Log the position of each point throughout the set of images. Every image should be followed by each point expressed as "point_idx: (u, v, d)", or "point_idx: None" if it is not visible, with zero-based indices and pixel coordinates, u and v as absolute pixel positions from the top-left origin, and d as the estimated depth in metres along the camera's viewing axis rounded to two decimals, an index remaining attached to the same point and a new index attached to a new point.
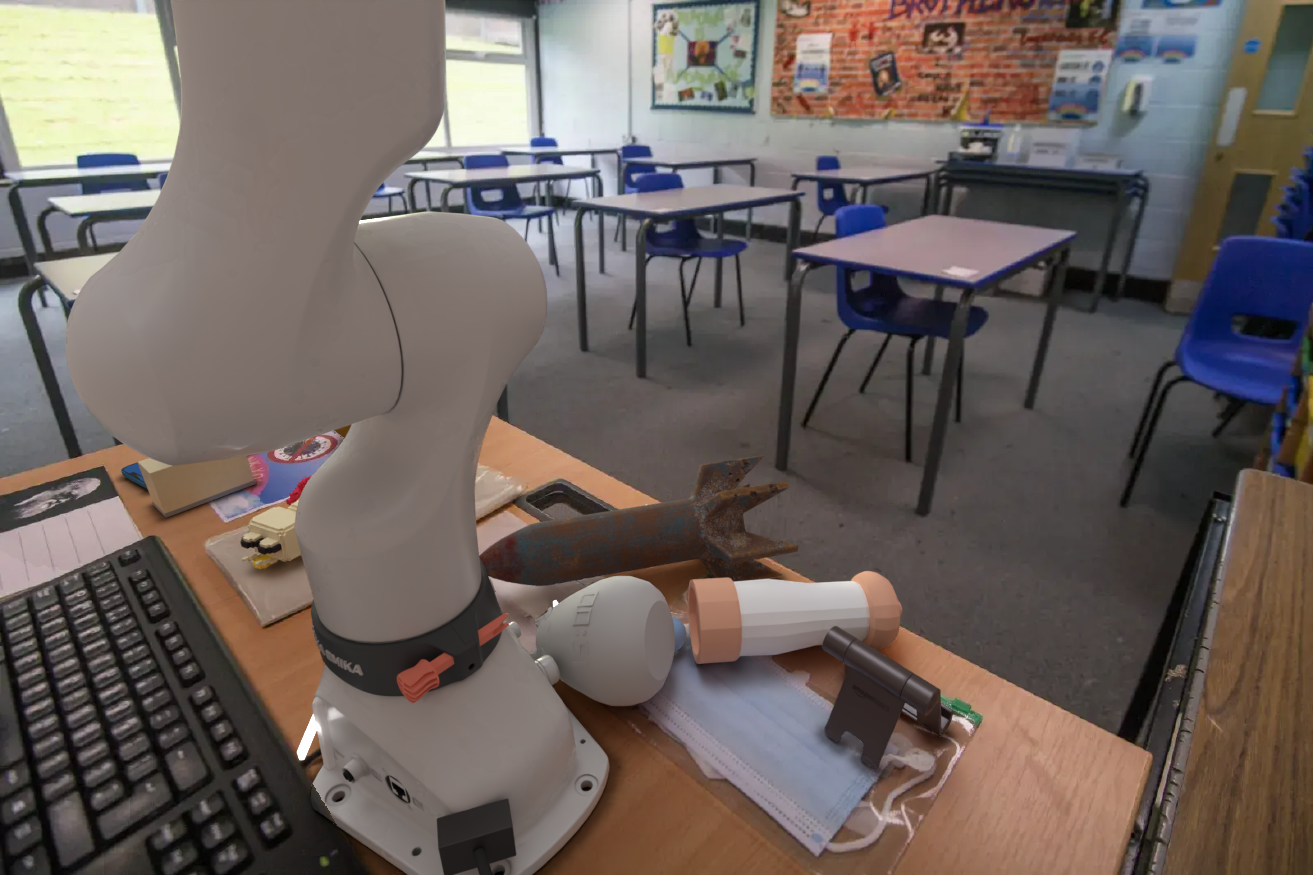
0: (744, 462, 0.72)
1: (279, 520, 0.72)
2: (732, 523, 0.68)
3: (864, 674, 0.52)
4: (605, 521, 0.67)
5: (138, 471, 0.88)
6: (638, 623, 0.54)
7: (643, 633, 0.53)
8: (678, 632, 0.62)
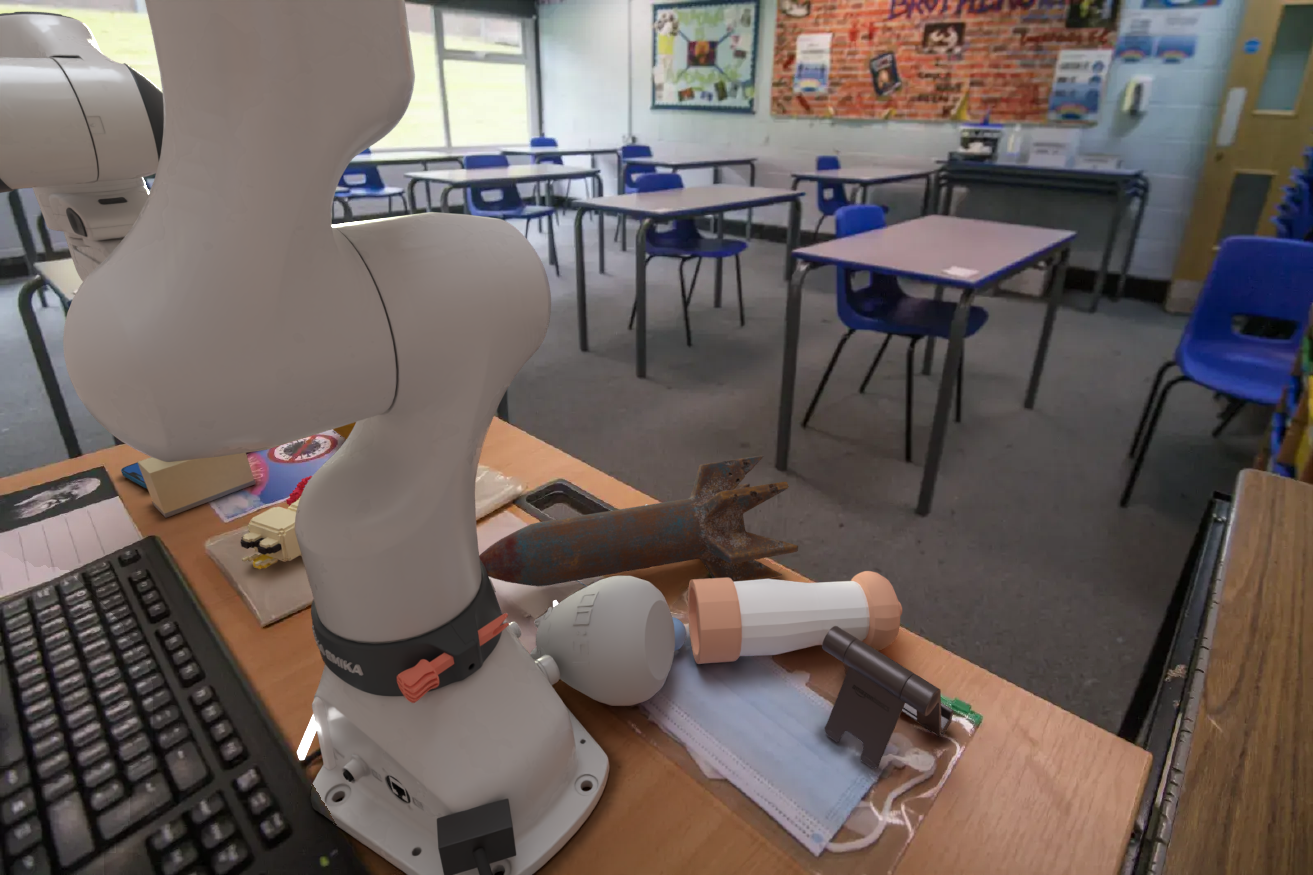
0: (744, 462, 0.72)
1: (279, 520, 0.72)
2: (732, 523, 0.68)
3: (864, 674, 0.52)
4: (605, 521, 0.67)
5: (138, 471, 0.88)
6: (638, 623, 0.54)
7: (643, 633, 0.54)
8: (678, 632, 0.62)
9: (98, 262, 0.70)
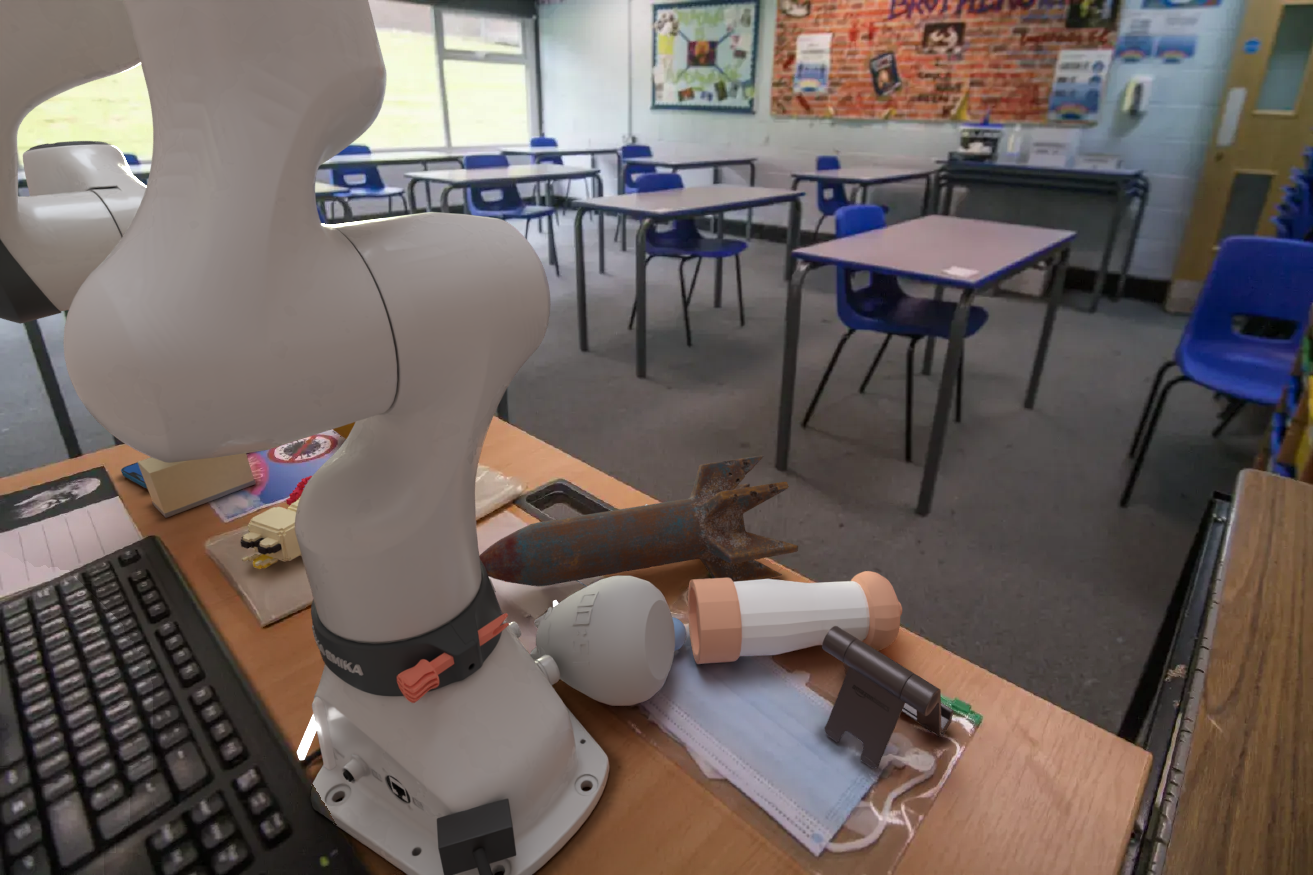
0: (744, 462, 0.72)
1: (279, 520, 0.72)
2: (732, 523, 0.68)
3: (864, 674, 0.52)
4: (605, 521, 0.67)
5: (138, 471, 0.88)
6: (639, 623, 0.54)
7: (643, 633, 0.54)
8: (678, 632, 0.62)
9: None
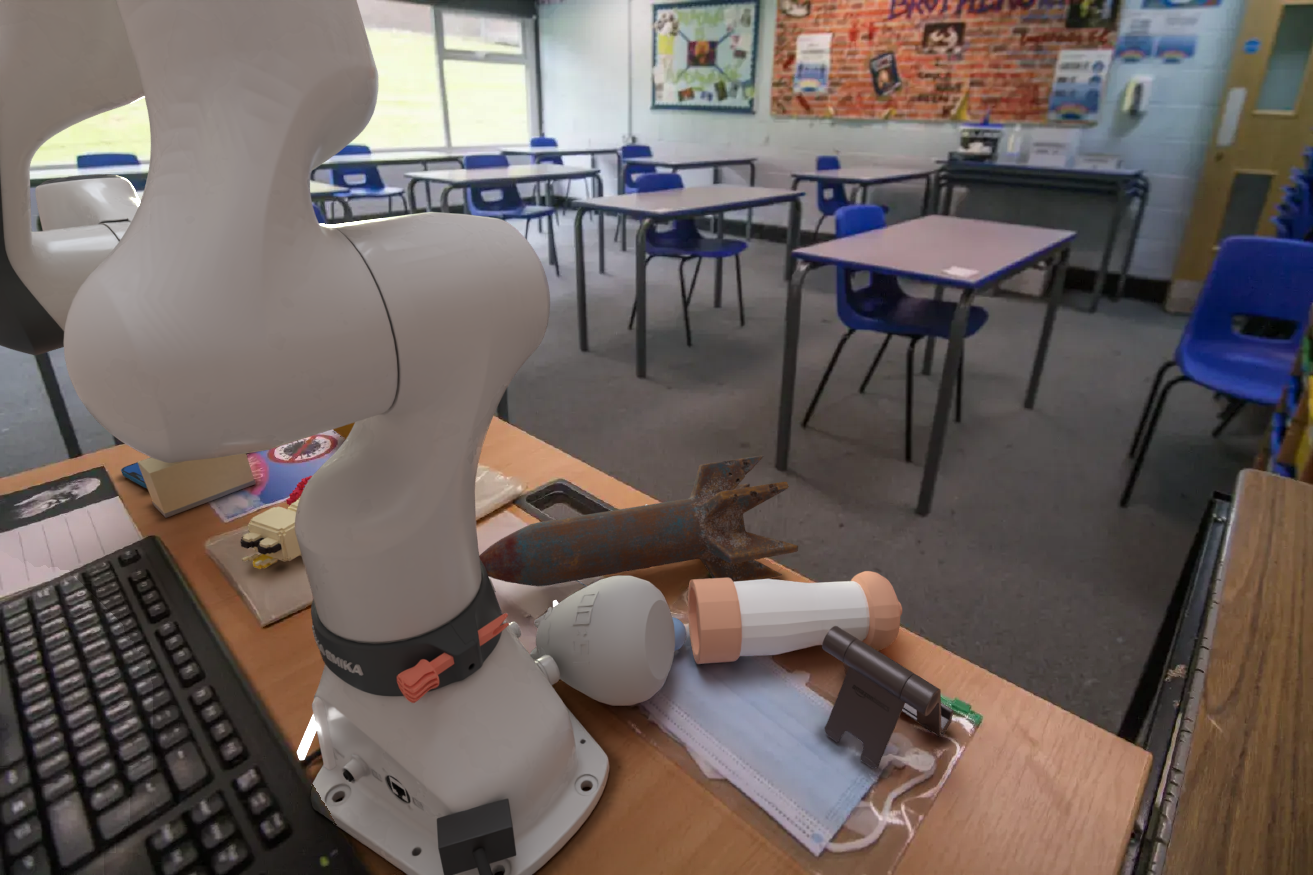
0: (744, 462, 0.72)
1: (279, 520, 0.72)
2: (732, 523, 0.68)
3: (864, 674, 0.52)
4: (605, 521, 0.67)
5: (138, 471, 0.88)
6: (639, 623, 0.54)
7: (643, 633, 0.54)
8: (678, 632, 0.62)
9: None
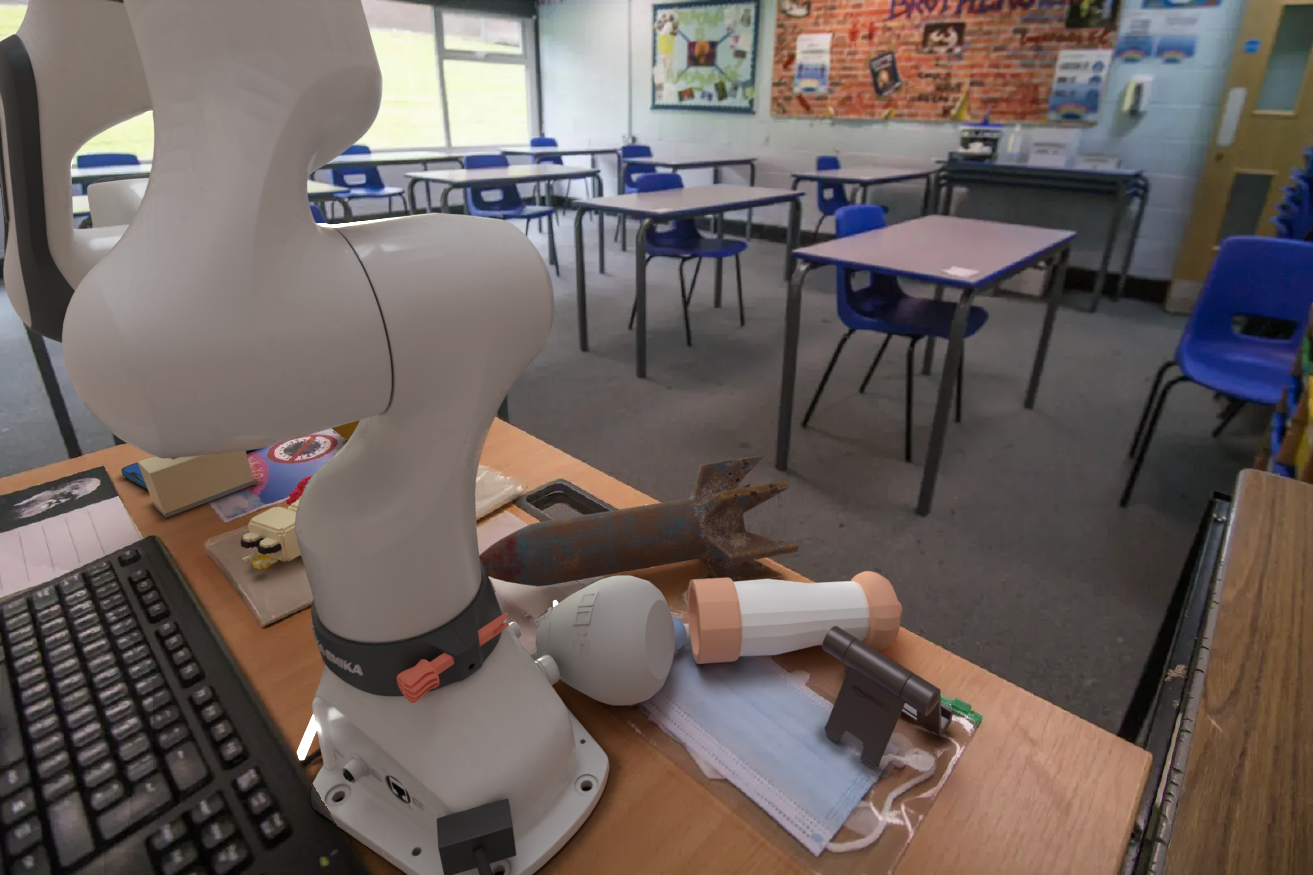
0: (744, 462, 0.72)
1: (279, 520, 0.72)
2: (732, 523, 0.68)
3: (864, 674, 0.52)
4: (605, 521, 0.67)
5: (138, 471, 0.88)
6: (639, 623, 0.54)
7: (644, 632, 0.54)
8: (678, 632, 0.62)
9: None
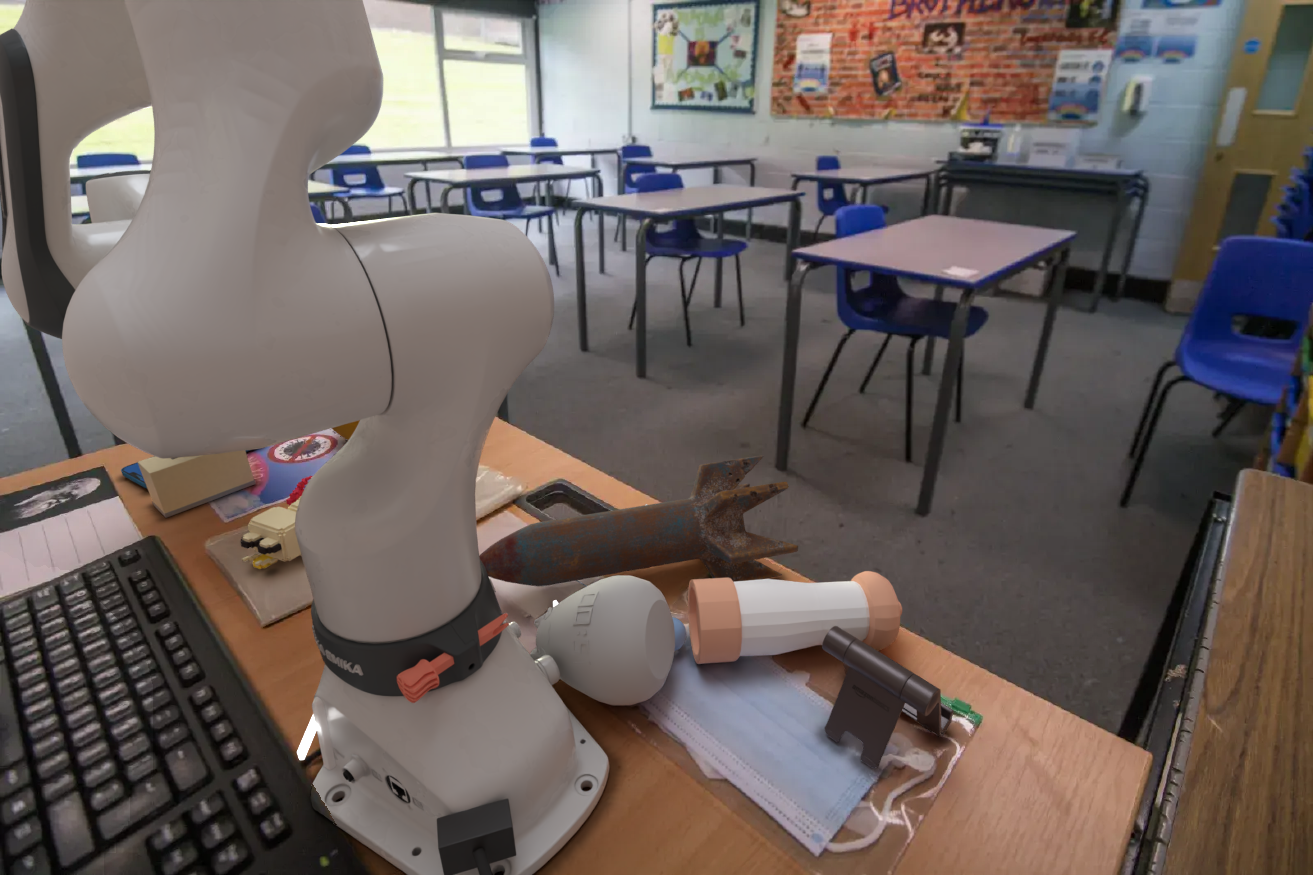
0: (744, 462, 0.72)
1: (279, 520, 0.72)
2: (732, 523, 0.68)
3: (864, 674, 0.52)
4: (605, 521, 0.67)
5: (138, 471, 0.88)
6: (639, 623, 0.54)
7: (644, 632, 0.54)
8: (678, 632, 0.62)
9: None
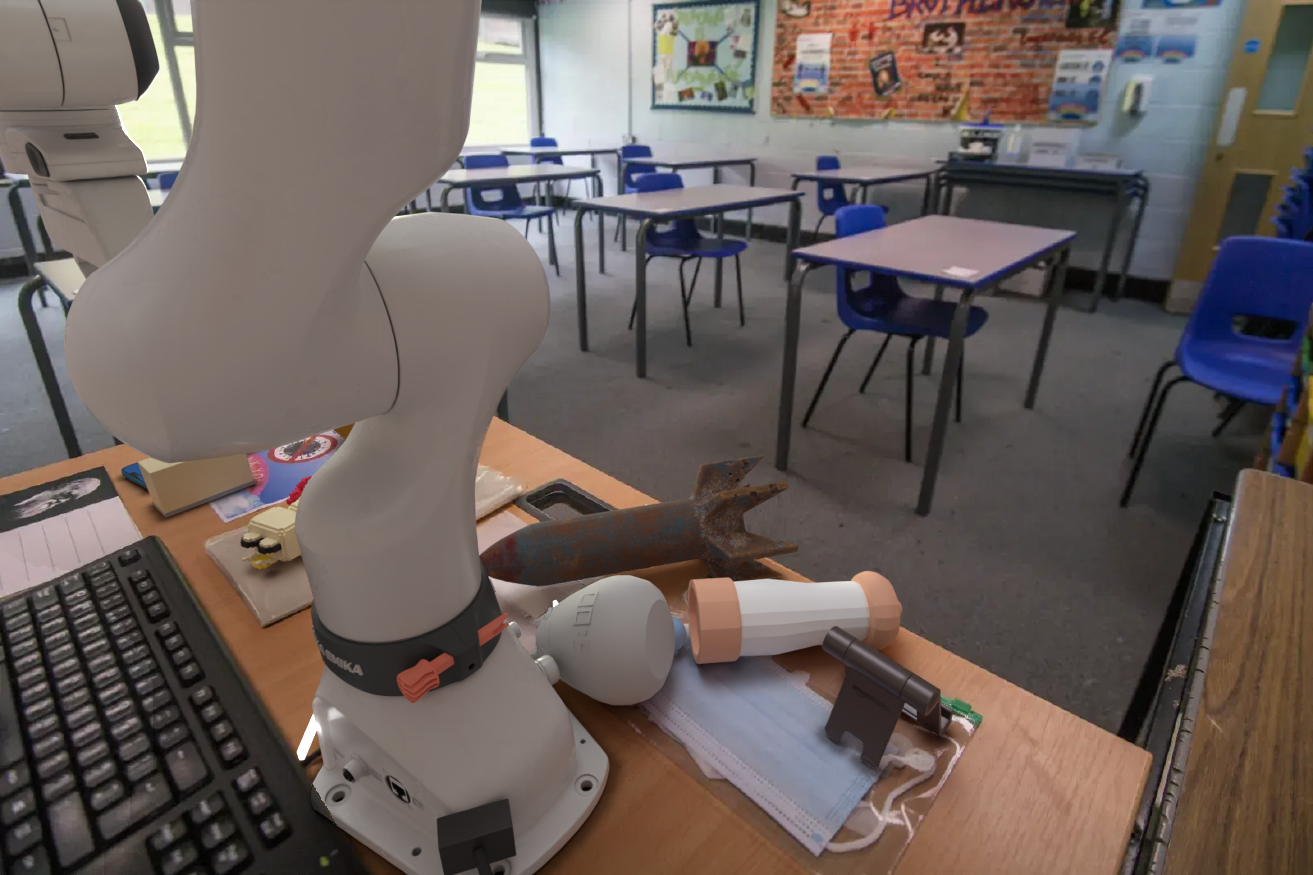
0: (744, 462, 0.72)
1: (279, 520, 0.72)
2: (732, 523, 0.68)
3: (864, 674, 0.52)
4: (605, 521, 0.67)
5: (138, 471, 0.88)
6: (639, 622, 0.54)
7: (644, 632, 0.54)
8: (678, 632, 0.62)
9: (68, 215, 0.60)
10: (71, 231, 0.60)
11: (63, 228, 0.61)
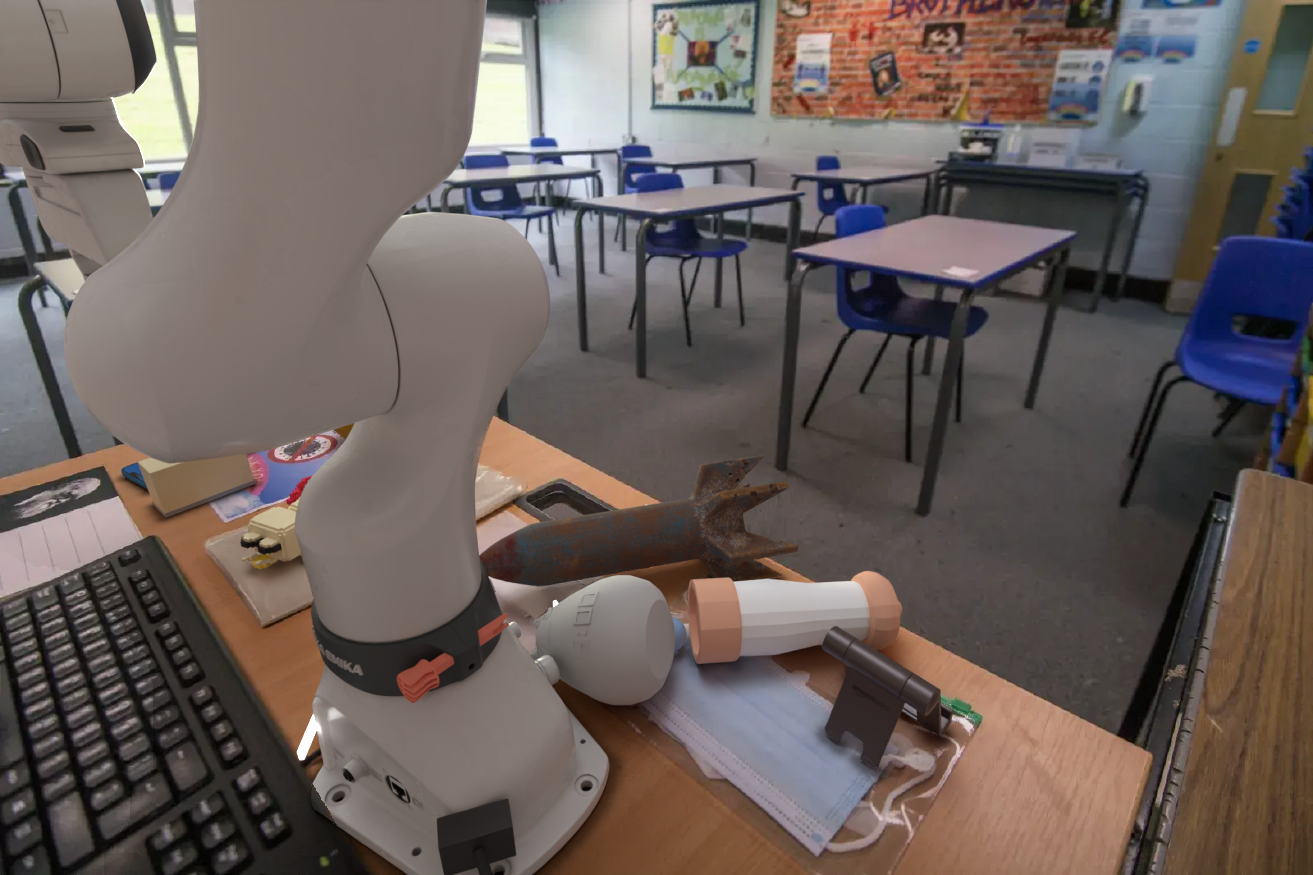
0: (744, 462, 0.72)
1: (279, 520, 0.72)
2: (732, 523, 0.68)
3: (864, 674, 0.52)
4: (605, 521, 0.67)
5: (138, 471, 0.88)
6: (639, 622, 0.54)
7: (644, 632, 0.54)
8: (678, 632, 0.62)
9: (63, 208, 0.59)
10: (66, 224, 0.60)
11: (58, 221, 0.61)
